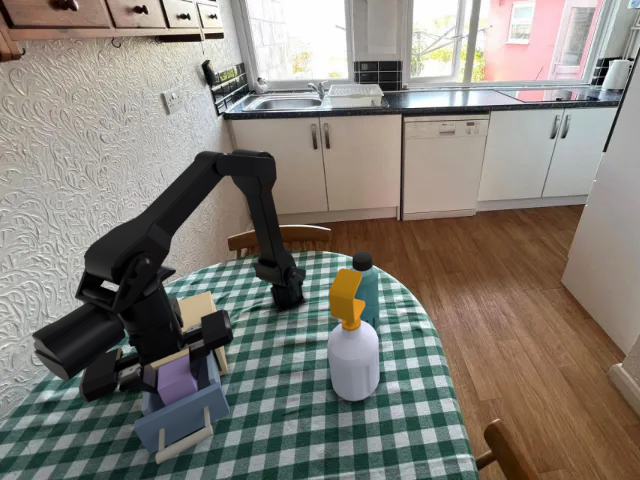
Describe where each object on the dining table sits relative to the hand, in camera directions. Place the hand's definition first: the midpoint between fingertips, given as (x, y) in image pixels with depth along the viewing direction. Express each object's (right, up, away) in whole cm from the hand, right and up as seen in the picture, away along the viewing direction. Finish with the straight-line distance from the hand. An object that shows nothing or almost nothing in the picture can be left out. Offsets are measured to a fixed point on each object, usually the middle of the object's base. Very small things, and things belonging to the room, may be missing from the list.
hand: (180, 384), depth 51 cm
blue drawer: (0, -5, +3) cm, 6 cm away
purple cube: (0, -1, 0) cm, 1 cm away
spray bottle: (+28, -4, +8) cm, 30 cm away
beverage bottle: (+30, +1, +18) cm, 35 cm away
